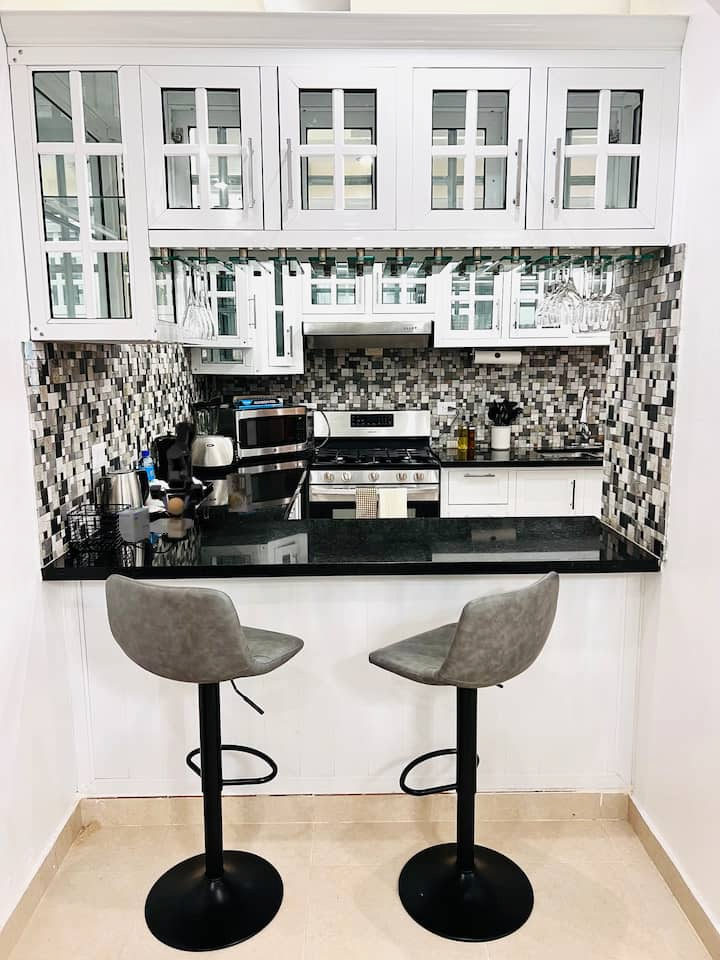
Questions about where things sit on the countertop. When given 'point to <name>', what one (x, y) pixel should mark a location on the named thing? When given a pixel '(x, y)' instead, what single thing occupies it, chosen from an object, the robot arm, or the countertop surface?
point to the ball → (175, 506)
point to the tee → (177, 527)
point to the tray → (165, 525)
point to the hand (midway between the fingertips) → (175, 510)
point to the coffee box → (239, 492)
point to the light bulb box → (134, 524)
